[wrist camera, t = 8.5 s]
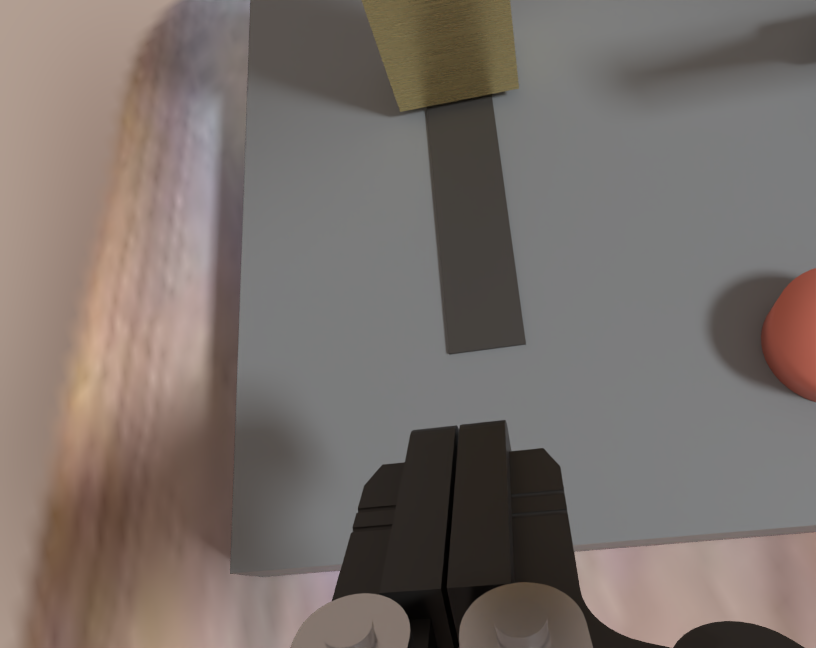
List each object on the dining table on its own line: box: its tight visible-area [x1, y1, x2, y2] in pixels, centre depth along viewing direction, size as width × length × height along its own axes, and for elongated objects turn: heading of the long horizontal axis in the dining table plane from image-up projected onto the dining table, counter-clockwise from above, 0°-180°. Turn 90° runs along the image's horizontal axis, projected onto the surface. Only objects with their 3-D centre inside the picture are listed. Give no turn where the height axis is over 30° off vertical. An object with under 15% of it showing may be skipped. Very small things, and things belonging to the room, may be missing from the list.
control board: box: [230, 0, 816, 577], centre depth 20 cm, size 24×20×3 cm
